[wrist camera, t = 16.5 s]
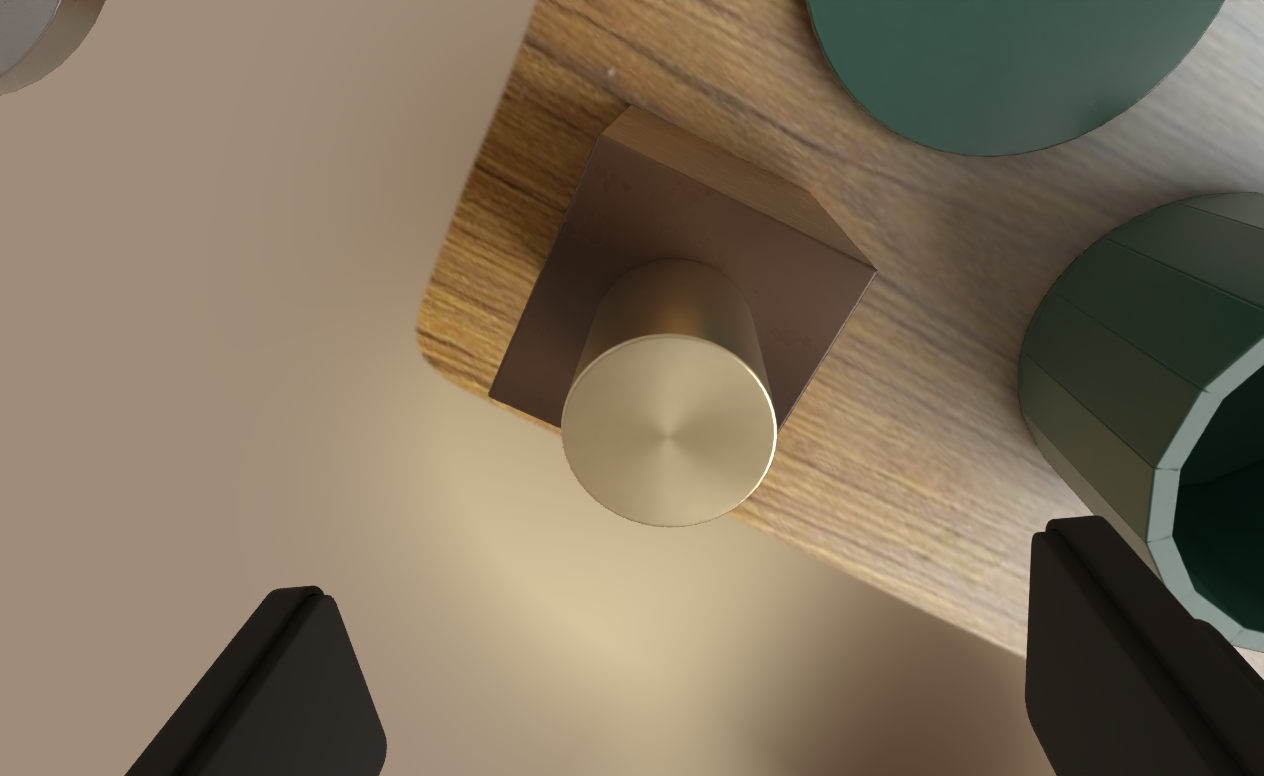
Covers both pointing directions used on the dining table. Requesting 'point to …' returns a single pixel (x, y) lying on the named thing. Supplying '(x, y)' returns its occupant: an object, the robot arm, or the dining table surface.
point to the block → (684, 229)
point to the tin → (670, 398)
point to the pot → (1165, 398)
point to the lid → (1003, 64)
